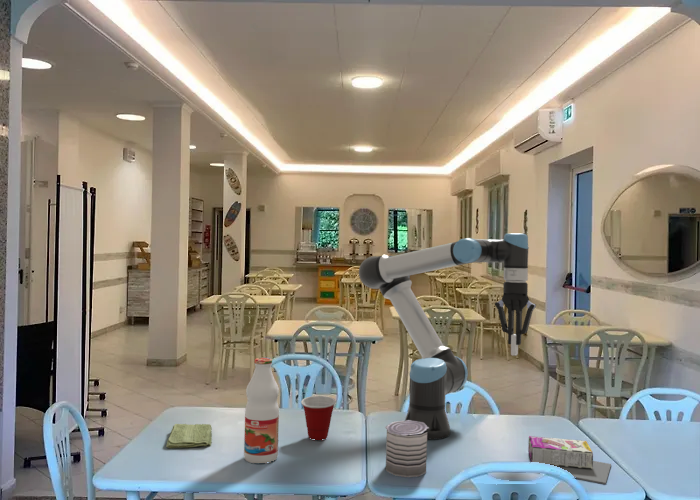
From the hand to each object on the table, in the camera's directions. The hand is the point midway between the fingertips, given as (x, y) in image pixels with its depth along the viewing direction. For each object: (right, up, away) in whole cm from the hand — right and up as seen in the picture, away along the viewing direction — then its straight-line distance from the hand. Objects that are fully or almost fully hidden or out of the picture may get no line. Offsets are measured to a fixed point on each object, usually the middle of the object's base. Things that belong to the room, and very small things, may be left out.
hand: (514, 354), depth 194 cm
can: (-38, -26, -30) cm, 55 cm away
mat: (+8, -27, -26) cm, 38 cm away
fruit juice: (-78, -25, -25) cm, 85 cm away
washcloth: (-102, -25, -9) cm, 105 cm away
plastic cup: (-63, -25, -6) cm, 68 cm away
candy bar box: (-1, -24, -20) cm, 31 cm away
